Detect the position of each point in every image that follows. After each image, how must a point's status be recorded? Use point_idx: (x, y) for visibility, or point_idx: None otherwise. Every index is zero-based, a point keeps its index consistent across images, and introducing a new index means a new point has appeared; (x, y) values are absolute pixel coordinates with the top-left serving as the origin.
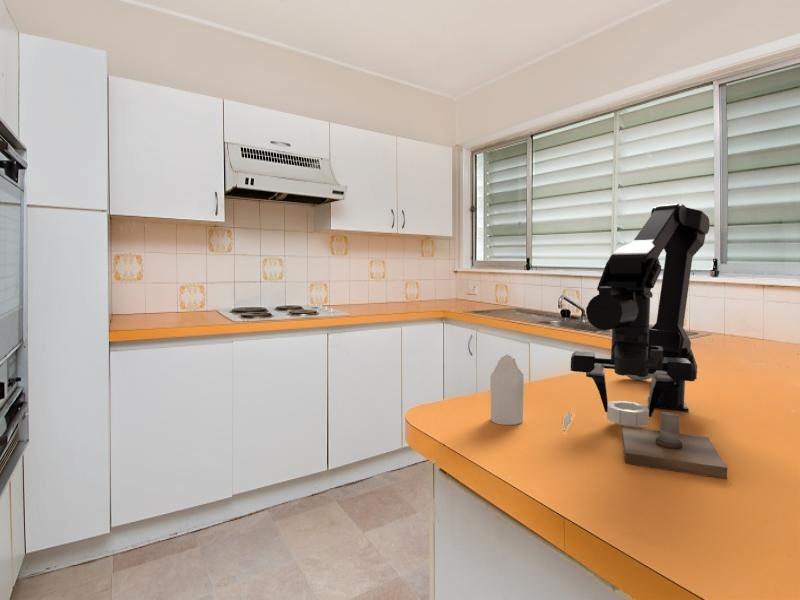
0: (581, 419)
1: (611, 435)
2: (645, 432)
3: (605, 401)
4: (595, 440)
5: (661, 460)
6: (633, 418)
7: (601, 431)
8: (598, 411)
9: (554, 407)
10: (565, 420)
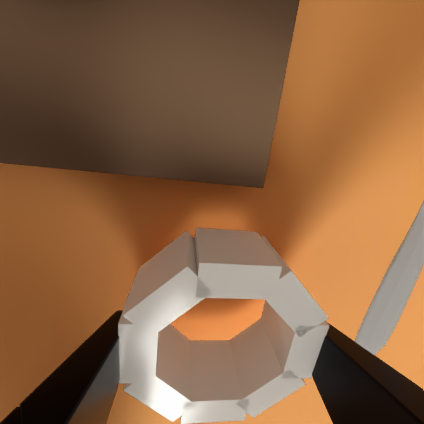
0: (350, 303)
1: (291, 165)
2: (167, 120)
3: (352, 350)
4: (373, 78)
5: None
6: (209, 244)
7: (317, 201)
8: None
9: None
10: (416, 266)
